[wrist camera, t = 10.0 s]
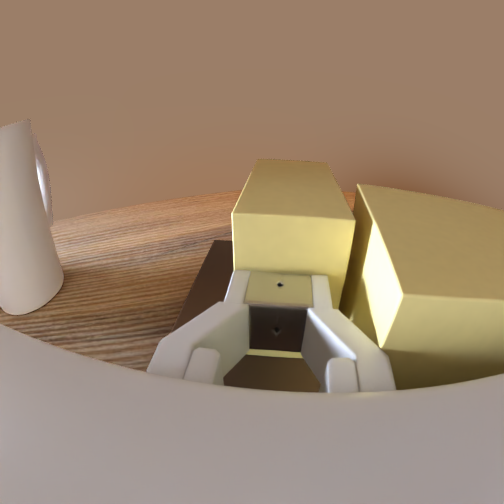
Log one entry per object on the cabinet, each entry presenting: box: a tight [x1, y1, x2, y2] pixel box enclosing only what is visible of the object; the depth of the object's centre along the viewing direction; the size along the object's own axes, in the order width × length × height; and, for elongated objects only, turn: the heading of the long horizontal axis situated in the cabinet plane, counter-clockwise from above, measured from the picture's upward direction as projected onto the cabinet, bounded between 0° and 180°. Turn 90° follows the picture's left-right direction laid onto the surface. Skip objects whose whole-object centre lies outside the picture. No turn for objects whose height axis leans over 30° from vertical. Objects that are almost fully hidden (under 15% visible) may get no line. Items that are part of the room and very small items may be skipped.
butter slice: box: [232, 159, 356, 358], centre depth 12 cm, size 4×7×6 cm, turn 173°
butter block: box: [338, 184, 504, 390], centre depth 9 cm, size 8×7×6 cm
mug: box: [0, 119, 64, 315], centre depth 15 cm, size 10×7×12 cm, turn 4°
